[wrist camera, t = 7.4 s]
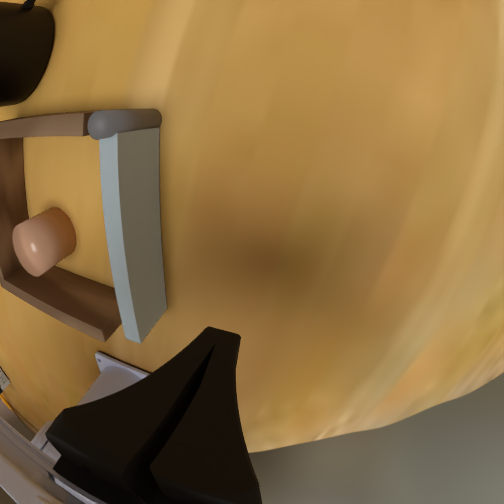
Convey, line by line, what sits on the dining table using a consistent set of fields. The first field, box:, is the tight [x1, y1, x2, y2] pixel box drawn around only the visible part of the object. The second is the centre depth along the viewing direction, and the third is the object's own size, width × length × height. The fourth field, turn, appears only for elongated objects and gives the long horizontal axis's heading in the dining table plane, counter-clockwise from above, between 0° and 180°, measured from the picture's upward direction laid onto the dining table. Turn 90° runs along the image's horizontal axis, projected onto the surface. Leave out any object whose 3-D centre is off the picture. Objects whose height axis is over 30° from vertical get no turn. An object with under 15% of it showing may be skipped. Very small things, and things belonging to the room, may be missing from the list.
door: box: [88, 109, 167, 344], centre depth 16 cm, size 14×1×5 cm, turn 176°
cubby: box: [0, 110, 122, 342], centre depth 18 cm, size 15×14×5 cm
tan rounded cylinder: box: [12, 207, 76, 277], centre depth 19 cm, size 4×4×4 cm
